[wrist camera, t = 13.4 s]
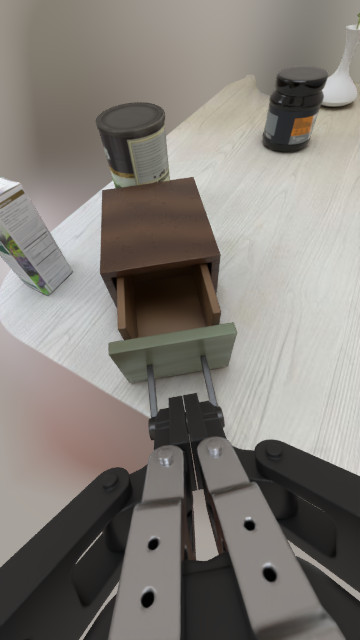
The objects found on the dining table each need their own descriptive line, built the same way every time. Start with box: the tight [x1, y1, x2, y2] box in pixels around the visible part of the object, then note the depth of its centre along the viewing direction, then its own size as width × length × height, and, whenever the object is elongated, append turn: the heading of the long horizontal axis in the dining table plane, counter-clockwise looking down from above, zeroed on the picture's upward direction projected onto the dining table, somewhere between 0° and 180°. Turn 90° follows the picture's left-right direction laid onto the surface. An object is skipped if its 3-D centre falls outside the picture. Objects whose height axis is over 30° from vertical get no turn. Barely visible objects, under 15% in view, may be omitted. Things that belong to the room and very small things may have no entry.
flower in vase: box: [321, 13, 360, 106], centre depth 58 cm, size 13×11×25 cm
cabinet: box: [100, 177, 220, 307], centre depth 34 cm, size 16×13×10 cm
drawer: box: [109, 263, 237, 440], centre depth 27 cm, size 22×12×8 cm, turn 9°
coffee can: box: [96, 103, 170, 188], centre depth 43 cm, size 10×10×14 cm
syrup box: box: [0, 177, 73, 295], centre depth 33 cm, size 6×6×14 cm
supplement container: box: [263, 66, 328, 152], centre depth 53 cm, size 10×10×12 cm
